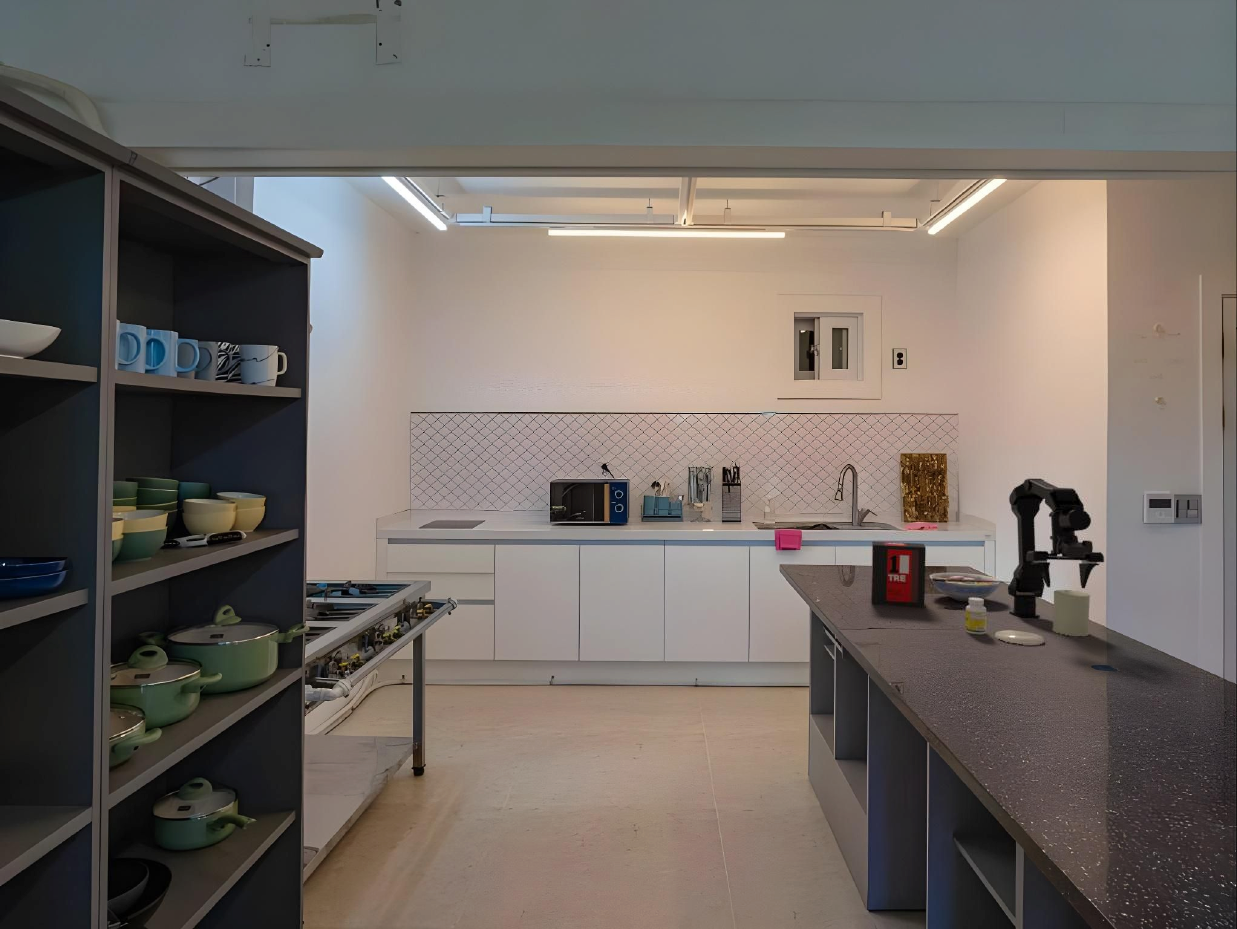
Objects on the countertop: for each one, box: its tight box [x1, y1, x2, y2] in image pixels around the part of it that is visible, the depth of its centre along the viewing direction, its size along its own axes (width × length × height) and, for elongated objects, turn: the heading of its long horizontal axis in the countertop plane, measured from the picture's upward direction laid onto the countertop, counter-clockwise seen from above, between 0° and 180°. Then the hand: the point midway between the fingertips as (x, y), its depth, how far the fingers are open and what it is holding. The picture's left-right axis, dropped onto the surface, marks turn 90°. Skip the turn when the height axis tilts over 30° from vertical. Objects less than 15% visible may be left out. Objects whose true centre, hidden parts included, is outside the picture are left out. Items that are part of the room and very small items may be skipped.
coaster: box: [994, 630, 1045, 646], centre depth 217 cm, size 12×12×1 cm
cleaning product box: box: [870, 541, 927, 608], centre depth 263 cm, size 16×9×20 cm, turn 73°
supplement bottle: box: [965, 598, 987, 635], centre depth 225 cm, size 5×5×10 cm
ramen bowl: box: [929, 572, 1011, 603], centre depth 270 cm, size 25×23×8 cm
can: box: [1051, 589, 1091, 637], centre depth 226 cm, size 9×9×12 cm
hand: (1065, 587), depth 219 cm, fingers open, 9 cm apart
